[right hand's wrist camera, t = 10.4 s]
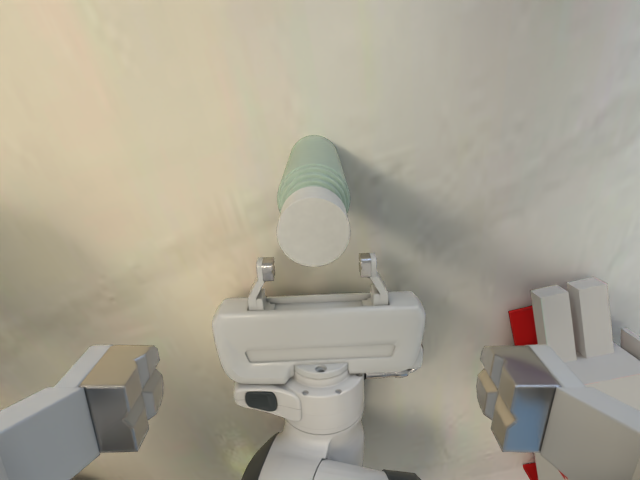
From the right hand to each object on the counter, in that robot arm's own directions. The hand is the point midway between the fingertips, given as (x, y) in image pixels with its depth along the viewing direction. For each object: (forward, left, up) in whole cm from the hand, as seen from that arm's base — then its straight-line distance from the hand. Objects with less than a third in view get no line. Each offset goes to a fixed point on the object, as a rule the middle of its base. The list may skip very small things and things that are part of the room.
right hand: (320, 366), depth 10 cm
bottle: (0, 0, -32) cm, 32 cm away
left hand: (0, -8, -26) cm, 28 cm away
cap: (0, 0, -11) cm, 11 cm away
